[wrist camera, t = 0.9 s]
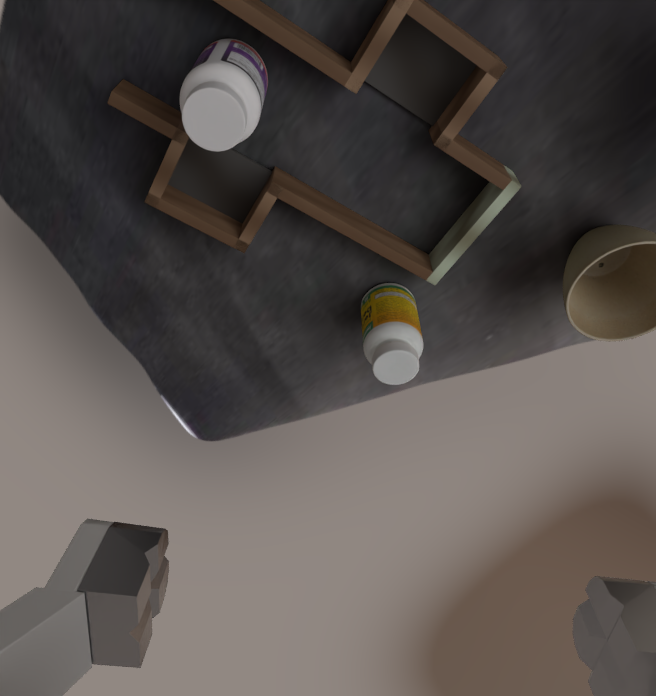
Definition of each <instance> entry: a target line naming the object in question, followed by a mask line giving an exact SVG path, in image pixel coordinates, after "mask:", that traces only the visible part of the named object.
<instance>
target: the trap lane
mask: <svg viewBox="0 0 656 696" xmlns="http://www.w3.org/2000/svg"><path fill="white" fill-rule="evenodd" d="M213 1H215V2H217V3H218V4H220V5H221V6H223V7H224V8H226V9H227V10H229V11H230V12H232V13H233V14H235V15H236V16H238V17H239V18H241V19H242V20H244V21H246V22H247V23H249V24H250V25H252V26H253V27H255V28H256V29H258V30H259V31H261V32H262V33H264V34H265V35H267V36H268V37H270V38H271V39H273V40H275V41H276V42H278V43H279V44H281V45H282V46H284V47H285V48H287V49H288V50H290V51H291V52H293V53H294V54H296V55H297V56H299V57H300V58H302V59H304V60H305V61H307V62H308V63H310V64H311V65H313V66H314V67H316V68H317V69H319V70H320V71H322V72H323V73H325V74H326V75H328V76H329V77H331V78H333V79H334V80H336V81H337V82H339V83H340V84H342V85H343V86H345V87H346V88H348V89H349V90H351V91H352V92H354V93H355V94H357V92H358V90H359V89H360V87H361V85H362V84H363V82H364V81H366V82H367V83H369V84H370V85H372V86H373V87H375V88H376V89H378V90H379V91H381V92H382V93H384V94H385V95H387V96H388V97H390V98H391V99H393V100H394V101H396V102H397V103H399V104H400V105H402V106H403V107H405V108H406V109H407V110H409V111H410V112H412V113H413V114H415V115H416V116H418V117H419V118H421V119H422V120H424V121H425V122H427V123H428V124H430V125H431V126H432V127H431V128H430V129H429V133H430V136H431V139H432V142H433V144H434V145H435V146H436V147H438V148H439V149H441V150H442V151H444V152H445V153H447V154H449V155H450V156H452V157H453V158H455V159H456V160H458V161H459V162H461V163H462V164H464V165H465V166H467V167H468V168H470V169H471V170H473V171H474V172H476V173H477V174H479V175H481V176H482V177H484V178H485V179H487V180H488V181H490V182H489V183H488V184H487V185H486V187H485V188H484V189H483V190H482V191H481V193H480V194H479V195H478V196H477V197H476V199H475V200H474V201H473V202H472V203H471V205H470V206H469V207H468V208H467V209H466V211H465V212H464V213H463V214H462V215H461V217H460V218H459V219H458V220H457V221H456V223H455V224H454V225H453V226H452V227H451V229H450V230H449V231H448V232H447V233H446V235H445V236H444V237H443V238H442V239H441V241H440V242H439V243H438V244H437V245H436V247H435V248H434V249H433V250H432V251H431V253H430V254H427V253H425V252H423V251H422V250H420V249H418V248H416V247H415V246H413V245H411V244H409V243H408V242H406V241H404V240H402V239H401V238H399V237H397V236H396V235H394V234H392V233H390V232H389V231H387V230H385V229H383V228H382V227H380V226H378V225H376V224H375V223H373V222H371V221H369V220H368V219H366V218H364V217H362V216H361V215H359V214H357V213H356V212H354V211H352V210H350V209H349V208H347V207H345V206H343V205H342V204H340V203H338V202H336V201H335V200H333V199H331V198H329V197H328V196H326V195H324V194H322V193H321V192H319V191H317V190H316V189H314V188H312V187H310V186H309V185H307V184H305V183H303V182H302V181H300V180H298V179H296V178H295V177H293V176H291V175H289V174H288V173H286V172H284V171H282V170H281V169H279V168H277V167H274V169H273V171H271V170H269V169H268V168H266V167H264V166H262V165H261V164H259V163H257V162H255V161H253V160H252V159H250V158H248V157H246V156H245V155H243V154H241V153H239V152H238V151H236V150H234V149H232V148H230V149H228V150H225V151H219V152H217V151H210V150H206V149H204V148H202V147H200V146H198V145H197V144H196V143H194V142H193V141H192V140H191V139H190V137H189V136H188V135H187V133H186V131H185V129H184V126H183V122H182V113H181V112H180V111H178V110H176V109H175V108H173V107H171V106H169V105H168V104H166V103H164V102H162V101H161V100H159V99H157V98H155V97H154V96H152V95H150V94H149V93H147V92H145V91H143V90H142V89H140V88H138V87H136V86H135V85H133V84H131V83H129V82H128V81H126V80H124V79H123V80H122V81H121V82H120V83H119V84H118V85H117V86H116V87H115V88H114V89H113V90H112V92H111V95H110V97H109V100H108V104H109V105H111V106H113V107H115V108H117V109H118V110H120V111H122V112H124V113H126V114H127V115H129V116H131V117H133V118H135V119H136V120H138V121H140V122H142V123H144V124H145V125H147V126H149V127H151V128H153V129H154V130H156V131H158V132H160V133H162V134H163V135H165V136H167V137H169V138H171V139H172V141H171V143H170V145H169V148H168V150H167V152H166V154H165V157H164V159H163V161H162V163H161V166H160V168H159V170H158V172H157V175H156V177H155V179H154V181H153V184H152V186H151V188H150V190H149V193H148V195H147V197H146V199H145V203H147V204H149V205H151V206H153V207H155V208H157V209H158V210H160V211H162V212H164V213H166V214H168V215H170V216H172V217H174V218H176V219H178V220H180V221H182V222H184V223H186V224H188V225H190V226H192V227H194V228H196V229H198V230H200V231H202V232H204V233H206V234H208V235H210V236H211V237H213V238H215V239H217V240H219V241H221V242H223V243H225V244H227V245H229V246H231V247H233V248H235V249H237V250H239V251H241V252H243V253H245V251H246V249H247V248H248V246H249V244H250V243H251V241H252V239H253V238H254V236H255V234H256V233H257V231H258V229H259V228H260V226H261V224H262V223H263V221H264V219H265V218H266V216H267V214H268V213H269V211H270V209H271V208H272V206H273V204H274V203H275V201H276V199H277V198H279V199H280V200H282V201H284V202H286V203H288V204H289V205H291V206H293V207H295V208H297V209H298V210H300V211H302V212H304V213H306V214H307V215H309V216H311V217H313V218H315V219H316V220H318V221H320V222H322V223H324V224H325V225H327V226H329V227H331V228H333V229H334V230H336V231H338V232H340V233H342V234H343V235H345V236H347V237H349V238H351V239H352V240H354V241H356V242H358V243H360V244H361V245H363V246H365V247H367V248H369V249H370V250H372V251H374V252H376V253H378V254H379V255H381V256H383V257H385V258H387V259H388V260H390V261H392V262H394V263H396V264H397V265H399V266H401V267H403V268H405V269H406V270H408V271H410V272H412V273H414V274H415V275H417V276H419V277H421V278H423V279H424V280H426V281H428V282H430V283H432V284H433V285H436V284H437V283H438V281H439V280H440V279H441V278H442V277H443V276H444V275H445V273H446V272H447V271H448V270H449V269H450V268H451V267H452V265H453V264H454V263H455V262H456V261H457V260H458V259H459V257H460V256H461V255H462V254H463V253H464V252H465V251H466V249H467V248H468V247H469V246H470V245H471V244H472V243H473V241H474V240H475V239H476V238H477V237H478V236H479V235H480V233H481V232H482V231H483V230H484V229H485V228H486V227H487V225H488V224H489V223H490V222H491V221H492V220H493V219H494V217H495V216H496V215H497V214H498V213H499V212H500V211H501V209H502V208H503V207H504V206H505V205H506V204H507V203H508V201H509V200H510V199H511V198H512V197H513V196H514V195H515V193H516V192H517V191H518V190H519V189H520V188H521V185H520V183H519V181H518V180H517V178H516V176H515V174H514V173H513V171H512V170H510V169H509V168H507V167H506V166H504V165H503V164H501V163H500V162H498V161H497V160H495V159H494V158H492V157H491V156H489V155H488V154H487V153H485V152H484V151H482V150H481V149H479V148H478V147H476V146H475V145H473V144H472V143H470V142H469V141H467V140H466V139H464V138H463V137H461V136H460V135H458V132H459V131H460V130H461V128H462V127H463V126H464V124H465V123H466V122H467V121H468V119H469V118H470V117H471V115H472V114H473V113H474V111H475V110H476V109H477V107H478V106H479V105H480V103H481V102H482V101H483V99H484V98H485V97H486V95H487V94H488V93H489V91H490V90H491V89H492V87H493V86H494V85H495V83H496V82H497V81H498V79H499V78H500V77H501V75H502V74H503V73H504V72H505V70H506V69H507V66H506V65H505V64H504V63H503V62H502V60H501V59H500V58H499V57H498V56H497V55H496V54H494V53H493V52H492V51H490V50H489V49H488V48H486V47H485V46H484V45H482V44H481V43H480V42H478V41H477V40H476V39H474V38H473V37H472V36H470V35H469V34H468V33H466V32H465V31H464V30H462V29H461V28H460V27H458V26H457V25H456V24H454V23H453V22H452V21H450V20H449V19H448V18H447V17H445V16H444V15H443V14H441V13H440V12H439V11H437V10H436V9H435V8H433V7H432V6H431V5H429V4H428V3H427V2H425V1H424V0H388V1H387V2H386V4H385V6H384V7H383V9H382V11H381V12H380V14H379V16H378V17H377V19H376V21H375V22H374V24H373V26H372V28H371V29H370V31H369V33H368V34H367V36H366V38H365V39H364V41H363V43H362V44H361V46H360V48H359V50H358V51H357V53H356V55H355V56H354V58H353V60H352V61H351V62H350V61H349V60H347V59H346V58H344V57H343V56H341V55H340V54H338V53H337V52H335V51H334V50H332V49H331V48H329V47H328V46H326V45H325V44H323V43H322V42H320V41H319V40H317V39H316V38H315V37H313V36H312V35H310V34H309V33H307V32H306V31H304V30H303V29H301V28H300V27H298V26H297V25H295V24H294V23H292V22H291V21H289V20H288V19H286V18H285V17H283V16H282V15H280V14H279V13H277V12H276V11H275V10H273V9H272V8H270V7H269V6H267V5H266V4H264V3H263V2H261V1H260V0H213Z"/></svg>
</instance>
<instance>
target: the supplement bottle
mask: <svg viewBox="0 0 656 696" xmlns="http://www.w3.org/2000/svg"><path fill="white" fill-rule="evenodd" d="M361 319H362V333H363V349H364V354H365V356H366V358H367V360H368V361H369V362H370V363H371V364H372V369H373V373H374V375H375V377H376V378H377V379H378V380H379V381H381V382H383V383H386V384H391V385H398V384H403V383H406V382H408V381H410V380H411V379H413V378H414V377H415V376H416V374H417V372H418V370H419V360H418V359H419V358H420V356H421V354H422V351H423V339H422V334H421V329H420V324H419V318H418V313H417V308H416V303H415V299H414V297H413V295H412V294H411V292H410V291H409V290H408V289H407V288H405V287H404V286H402V285H399V284H396V283H384V284H380V285H377V286H375V287H373V288H372V289H370V290H369V291H368V292H367V293H366V294H365V295H364V297H363V299H362V303H361Z"/></svg>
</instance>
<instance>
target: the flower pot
mask: <svg viewBox="0 0 656 696" xmlns="http://www.w3.org/2000/svg"><path fill="white" fill-rule="evenodd" d="M602 263H603V265H601V264H602ZM563 298H564V305H565V310H566V313H567V316H568V319H569V321H570V323H571V324H572V326H573V327H574V328H575V329H576V330H577V331H578V332H580V333H581V334H583V335H584V336H587V337H589V338H591V339H595V340H600V341H622V340H627V339H633V338H636V337H639V336H642V335H644V334H647V333H649V332H651V331H653V330H655V329H656V233H653V232H651V231H648V230H645V229H641V228H638V227H633V226H627V225H607V226H601V227H598V228H595V229H592V230H590V231H589V232H587V233H586V234H584V235H583V236H582V237H581V238H580V239H579V240H578V241H577V243H576V244H575V245H574V247H573V249H572V250H571V253H570V255H569V257H568V260H567V263H566V266H565V271H564V277H563Z"/></svg>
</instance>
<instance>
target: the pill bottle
mask: <svg viewBox="0 0 656 696" xmlns="http://www.w3.org/2000/svg"><path fill="white" fill-rule="evenodd" d="M267 86H268V75H267V70H266V67H265V64H264V62H263V60H262V58H261V57H260V55H259V54H258V53H257V51H256V50H255V49H254V48H252V47H251V46H250V45H248V44H247V43H245V42H243V41H240V40H237V39H221V40H218V41H215V42H213V43H211V44H210V45H209V46H207V47H206V48H205V49H204V50H203V52H202V53H201V54H200V56H199V57H198V59H197V61H196V62H195V64H194V65H193V67H192V68H191V70H190V71H189V73H188V75H187V76H186V78H185V80H184V82H183V84H182V87H181V90H180V97H179V98H180V109H181V113H182V122H183V126H184V129H185V131H186V133H187V135H188V136H189V137H190V139H191V140H192V141H193V142H194V143H196V144H197V145H198V146H200V147H202V148H204V149H206V150H210V151H217V152H219V151H225V150H228V149H230V148H232V147H234V146H235V145H236V144H237V143H240V142H242V141H244V140H245V139H246V138H248V137H249V136H250V135H251V134H252V132H253V131H254V130H255V128H256V126H257V124H258V121H259V118H260V115H261V111H262V107H263V103H264V99H265V95H266V92H267Z"/></svg>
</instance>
